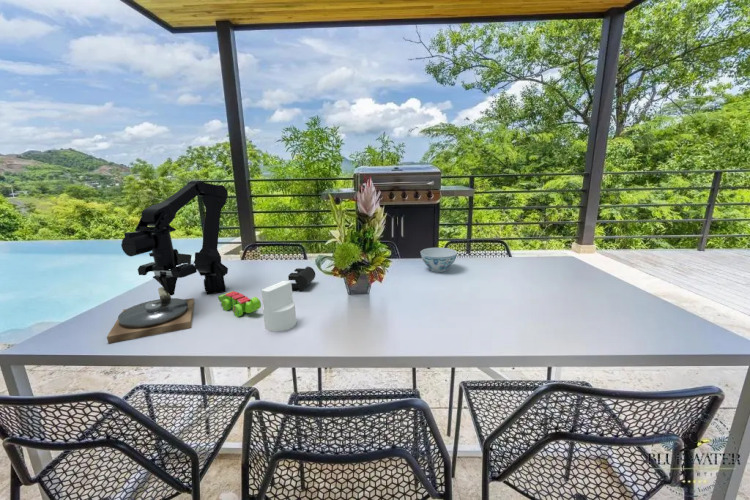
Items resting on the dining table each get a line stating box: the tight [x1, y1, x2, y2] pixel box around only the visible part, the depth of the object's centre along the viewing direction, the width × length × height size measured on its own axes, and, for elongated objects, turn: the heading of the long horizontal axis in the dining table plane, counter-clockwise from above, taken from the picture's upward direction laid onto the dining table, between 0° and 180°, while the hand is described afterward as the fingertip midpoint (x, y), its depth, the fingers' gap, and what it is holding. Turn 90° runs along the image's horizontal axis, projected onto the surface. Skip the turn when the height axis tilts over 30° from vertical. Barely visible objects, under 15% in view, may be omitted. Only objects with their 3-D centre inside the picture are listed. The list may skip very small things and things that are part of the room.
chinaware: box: [420, 247, 458, 273], centre depth 147 cm, size 15×15×8 cm
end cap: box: [287, 266, 316, 292], centre depth 132 cm, size 10×7×7 cm
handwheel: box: [117, 286, 188, 328], centre depth 106 cm, size 18×18×6 cm
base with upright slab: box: [261, 280, 297, 333], centre depth 101 cm, size 9×9×12 cm
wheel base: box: [106, 297, 195, 345], centre depth 107 cm, size 20×20×2 cm
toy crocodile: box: [217, 290, 262, 318], centre depth 113 cm, size 20×7×6 cm, turn 49°
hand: (172, 295), depth 113 cm, fingers closed
